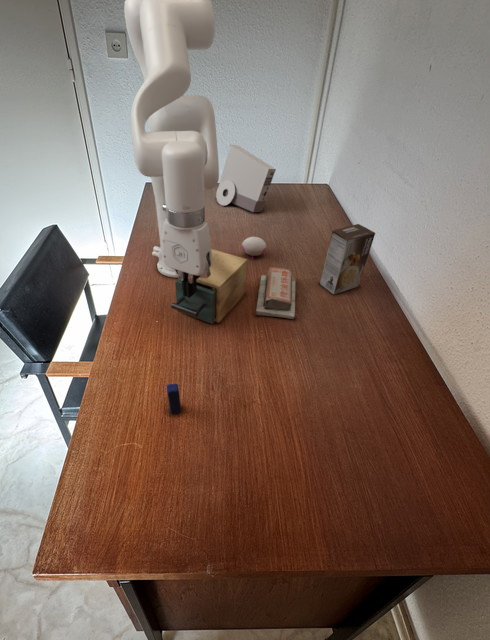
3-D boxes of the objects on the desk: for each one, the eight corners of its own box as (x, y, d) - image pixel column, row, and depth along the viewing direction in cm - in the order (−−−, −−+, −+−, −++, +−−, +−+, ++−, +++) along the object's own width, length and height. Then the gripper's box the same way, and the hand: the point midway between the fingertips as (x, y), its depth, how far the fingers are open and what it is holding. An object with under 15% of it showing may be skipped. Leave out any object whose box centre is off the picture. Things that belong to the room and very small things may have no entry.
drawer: (202, 334, 89) (201, 304, 82) (166, 320, 92) (163, 290, 86) (237, 296, 100) (239, 267, 93) (204, 286, 103) (204, 257, 97)
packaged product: (262, 263, 104) (297, 267, 103) (260, 279, 108) (294, 282, 107) (256, 300, 92) (297, 304, 91) (255, 316, 95) (294, 320, 94)
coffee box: (343, 276, 109) (359, 222, 98) (358, 287, 105) (377, 232, 94) (318, 284, 106) (332, 229, 95) (333, 295, 102) (349, 240, 91)
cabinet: (218, 322, 93) (219, 286, 86) (180, 308, 97) (177, 273, 90) (244, 294, 102) (247, 259, 95) (208, 282, 106) (208, 248, 98)
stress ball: (263, 262, 121) (266, 240, 120) (264, 259, 113) (268, 236, 112) (240, 259, 121) (243, 238, 120) (240, 256, 113) (243, 233, 112)
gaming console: (210, 200, 148) (218, 142, 136) (223, 199, 152) (232, 143, 140) (252, 218, 136) (265, 157, 124) (265, 217, 141) (279, 157, 128)
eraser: (181, 413, 73) (179, 390, 68) (169, 414, 73) (166, 391, 68) (180, 405, 75) (178, 382, 70) (169, 406, 74) (166, 383, 70)
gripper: (144, 213, 73) (154, 293, 87) (208, 230, 68) (209, 312, 81) (165, 201, 78) (172, 278, 91) (228, 216, 73) (225, 295, 86)
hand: (189, 294), depth 86 cm, fingers closed
